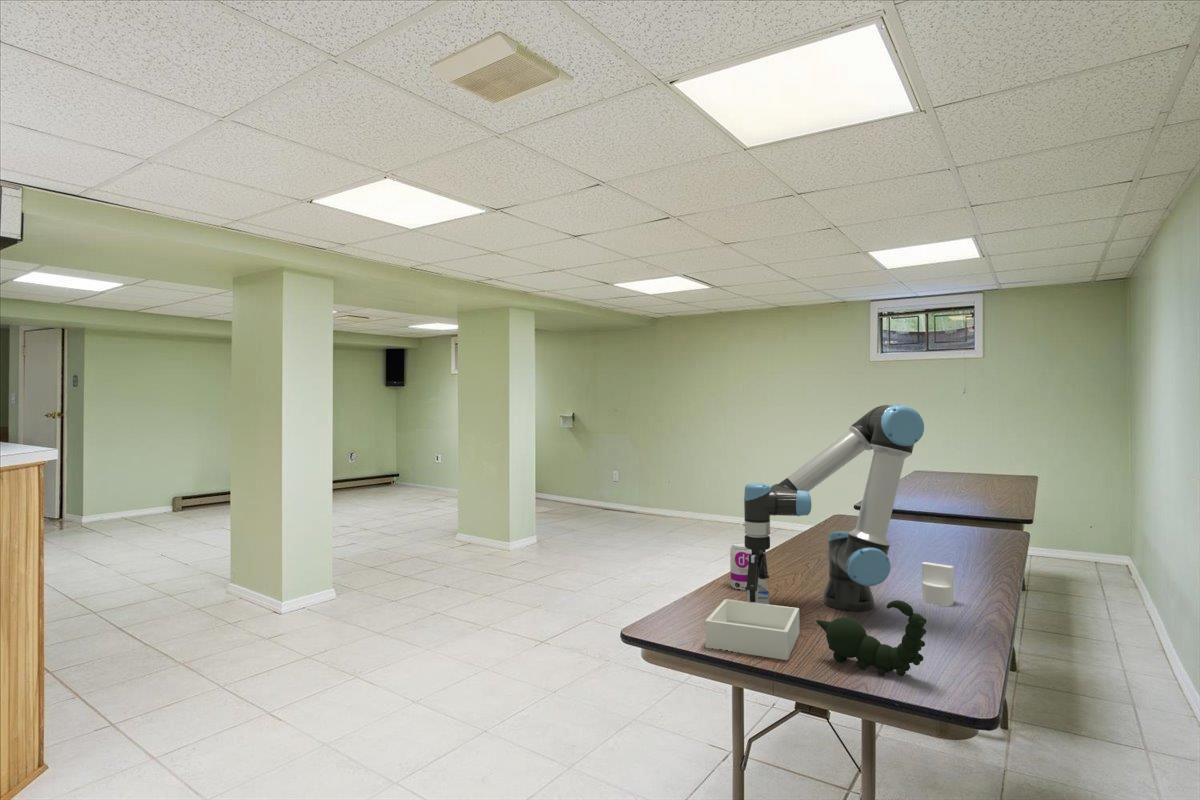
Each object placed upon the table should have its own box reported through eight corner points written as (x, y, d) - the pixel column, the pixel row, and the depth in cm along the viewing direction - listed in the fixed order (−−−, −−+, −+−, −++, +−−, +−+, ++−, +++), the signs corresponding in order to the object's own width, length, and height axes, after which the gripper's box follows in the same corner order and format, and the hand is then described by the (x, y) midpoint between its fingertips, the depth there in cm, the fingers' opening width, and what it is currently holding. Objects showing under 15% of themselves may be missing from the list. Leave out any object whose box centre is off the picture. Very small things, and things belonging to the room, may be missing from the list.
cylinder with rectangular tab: (957, 601, 208) (956, 564, 208) (949, 608, 202) (948, 569, 202) (927, 596, 214) (926, 560, 214) (918, 602, 208) (918, 565, 208)
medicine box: (746, 612, 198) (746, 584, 198) (760, 612, 199) (760, 583, 199) (754, 621, 190) (754, 591, 191) (769, 620, 191) (769, 591, 191)
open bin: (799, 633, 180) (799, 608, 180) (787, 660, 161) (787, 632, 161) (725, 623, 189) (724, 599, 189) (705, 647, 170) (705, 620, 170)
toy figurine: (924, 681, 152) (820, 647, 168) (931, 602, 151) (826, 575, 167) (914, 695, 145) (806, 658, 161) (921, 612, 144) (812, 583, 160)
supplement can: (755, 591, 221) (754, 547, 221) (730, 590, 222) (730, 546, 223) (754, 585, 229) (754, 542, 229) (730, 583, 230) (730, 541, 231)
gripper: (753, 527, 208) (753, 593, 207) (735, 541, 185) (735, 616, 185) (776, 528, 204) (777, 596, 204) (761, 544, 182) (762, 620, 182)
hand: (757, 606), depth 195 cm, fingers open, 12 cm apart
